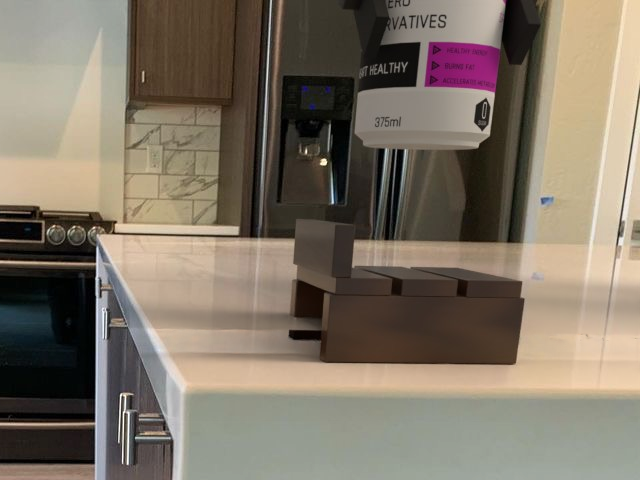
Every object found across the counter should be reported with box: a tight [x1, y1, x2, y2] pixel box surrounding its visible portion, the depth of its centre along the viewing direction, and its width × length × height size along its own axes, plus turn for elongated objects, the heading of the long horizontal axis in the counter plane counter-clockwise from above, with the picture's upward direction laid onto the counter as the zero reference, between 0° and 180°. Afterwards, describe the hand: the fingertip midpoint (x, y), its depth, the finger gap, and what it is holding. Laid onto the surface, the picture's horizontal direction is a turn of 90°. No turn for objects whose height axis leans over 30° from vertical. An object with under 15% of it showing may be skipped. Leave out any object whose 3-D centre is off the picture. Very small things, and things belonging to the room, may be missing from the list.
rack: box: [288, 218, 526, 365], centre depth 61 cm, size 12×10×8 cm
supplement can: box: [354, 0, 506, 151], centre depth 57 cm, size 8×8×15 cm
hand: (451, 41), depth 55 cm, fingers closed on supplement can, 8 cm apart
